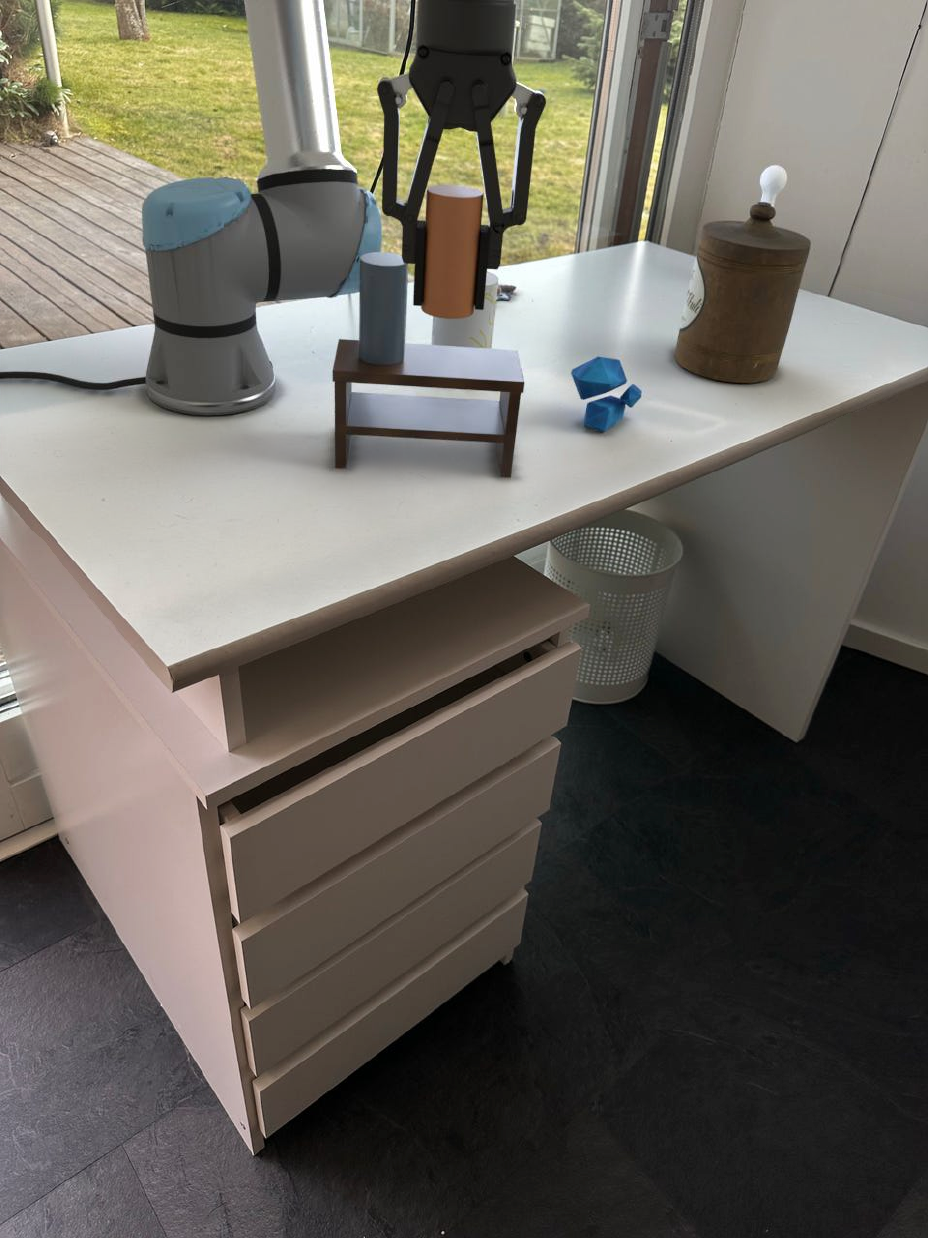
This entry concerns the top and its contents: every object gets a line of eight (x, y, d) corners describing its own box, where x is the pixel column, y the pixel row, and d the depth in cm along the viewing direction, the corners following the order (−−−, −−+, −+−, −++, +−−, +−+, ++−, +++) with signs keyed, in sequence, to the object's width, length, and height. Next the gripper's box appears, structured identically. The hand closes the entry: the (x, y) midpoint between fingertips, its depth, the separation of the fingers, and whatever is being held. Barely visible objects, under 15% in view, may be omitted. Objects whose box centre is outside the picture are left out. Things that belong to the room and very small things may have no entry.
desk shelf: (333, 467, 99) (332, 370, 93) (339, 431, 106) (338, 338, 100) (512, 477, 101) (524, 382, 94) (506, 441, 108) (517, 350, 101)
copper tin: (421, 299, 85) (426, 182, 79) (472, 303, 85) (482, 186, 79) (421, 317, 81) (426, 195, 75) (475, 320, 81) (485, 199, 75)
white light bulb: (778, 291, 166) (812, 171, 154) (755, 297, 162) (787, 174, 150) (728, 274, 172) (757, 157, 161) (704, 280, 168) (731, 160, 156)
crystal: (662, 364, 113) (621, 368, 103) (641, 433, 117) (600, 442, 107) (609, 348, 116) (565, 350, 107) (590, 414, 120) (546, 422, 110)
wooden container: (693, 338, 142) (728, 184, 129) (787, 362, 137) (834, 205, 124) (658, 365, 132) (693, 201, 119) (759, 393, 126) (807, 224, 113)
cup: (483, 381, 122) (492, 289, 115) (424, 372, 123) (429, 280, 116) (494, 359, 128) (503, 272, 121) (437, 351, 129) (443, 263, 122)
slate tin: (357, 363, 95) (358, 264, 89) (360, 347, 98) (361, 250, 92) (404, 366, 95) (408, 267, 89) (404, 349, 99) (408, 253, 93)
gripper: (345, -20, 65) (345, 310, 79) (593, 2, 66) (551, 322, 80) (351, -24, 71) (350, 283, 85) (579, -3, 72) (541, 296, 86)
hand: (448, 302), depth 82 cm, fingers closed on copper tin, 5 cm apart
